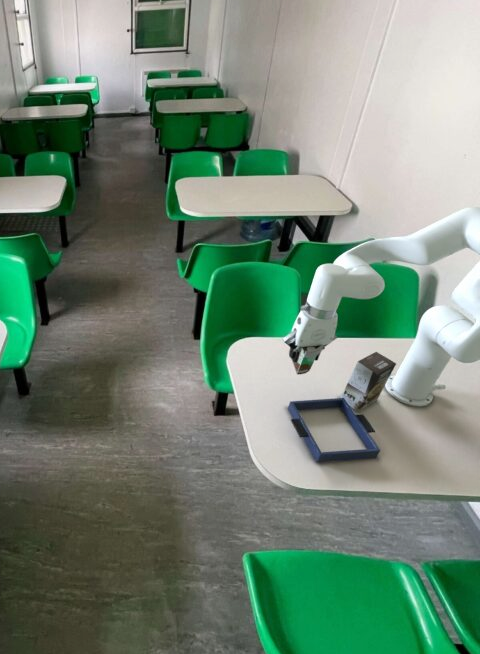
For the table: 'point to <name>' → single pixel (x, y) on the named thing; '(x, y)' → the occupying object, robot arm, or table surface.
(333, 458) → the roasting pan
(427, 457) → the table surface
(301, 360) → the food container
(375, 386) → the coffee box
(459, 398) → the table surface
